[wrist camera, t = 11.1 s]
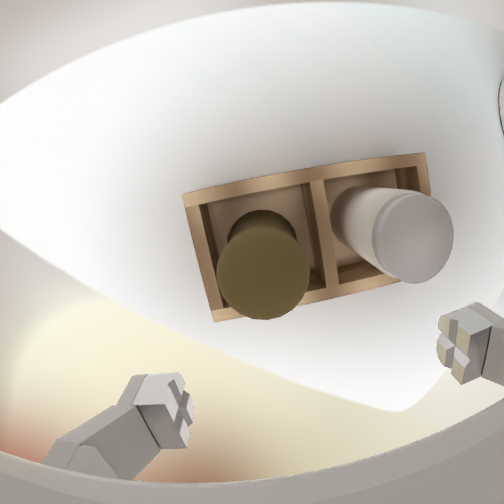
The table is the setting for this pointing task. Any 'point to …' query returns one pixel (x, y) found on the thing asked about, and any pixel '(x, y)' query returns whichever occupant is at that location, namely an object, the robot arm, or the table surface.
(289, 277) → the cork
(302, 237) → the caddy
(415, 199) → the salt shaker
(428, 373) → the table surface
